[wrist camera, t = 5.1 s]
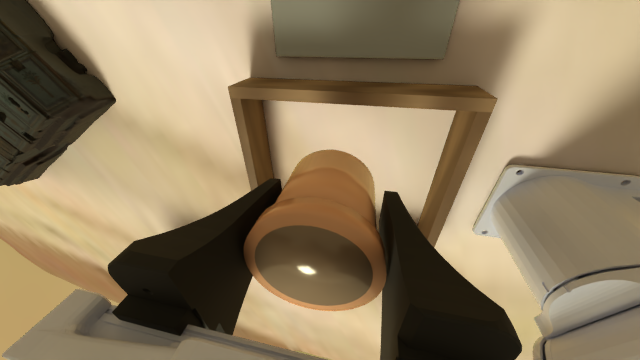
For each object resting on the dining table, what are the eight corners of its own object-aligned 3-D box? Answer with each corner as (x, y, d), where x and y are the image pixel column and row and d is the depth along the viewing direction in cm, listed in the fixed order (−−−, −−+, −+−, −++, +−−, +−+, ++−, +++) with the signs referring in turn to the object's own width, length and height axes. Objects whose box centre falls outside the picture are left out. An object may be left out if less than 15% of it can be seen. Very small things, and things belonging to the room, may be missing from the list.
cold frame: (477, 85, 16) (500, 100, 13) (417, 247, 26) (423, 278, 23) (250, 77, 19) (224, 87, 16) (274, 224, 29) (262, 248, 26)
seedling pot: (386, 148, 12) (399, 225, 7) (373, 227, 15) (376, 321, 10) (282, 141, 13) (228, 206, 8) (290, 217, 16) (255, 299, 11)
